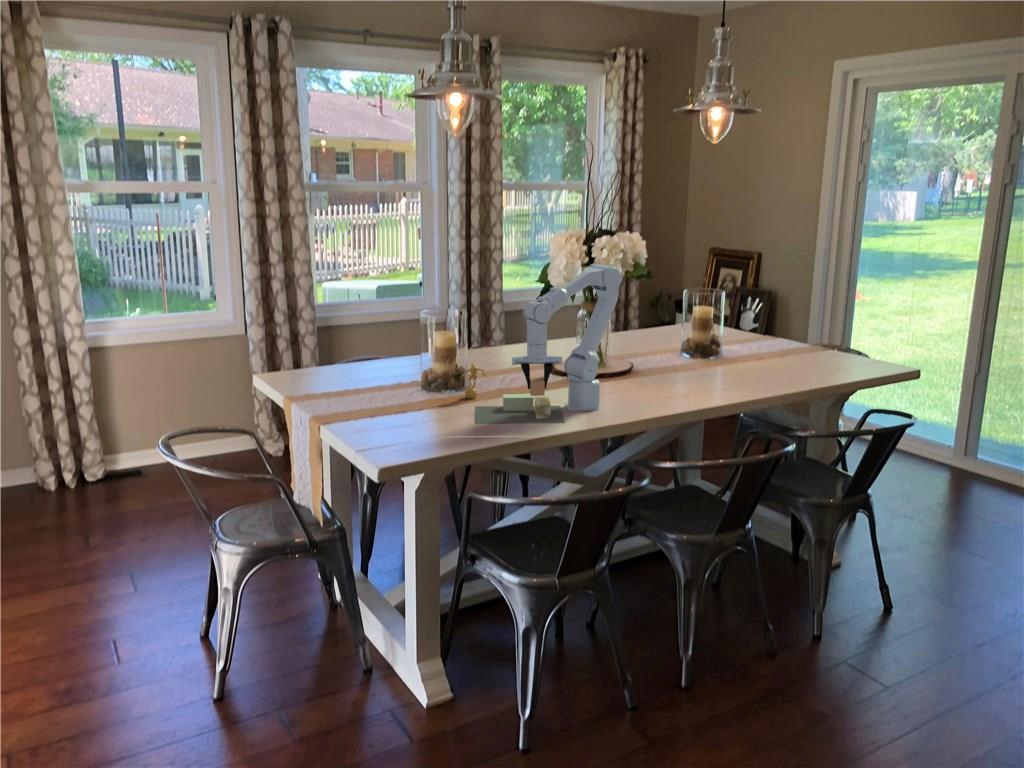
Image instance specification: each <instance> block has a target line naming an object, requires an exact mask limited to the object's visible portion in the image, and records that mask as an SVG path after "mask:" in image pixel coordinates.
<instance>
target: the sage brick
mask: <svg viewBox="0 0 1024 768" xmlns="http://www.w3.org/2000/svg"><path fill="white" fill-rule="evenodd" d="M502 406H503V411H530V410H533V406H534V396H531V394H530V393H528V394H527V393H526V394H525V393H517V394H516V393H514V394H513V393H510V394H509V393H508V394H506V393H504V394H503V393H502Z"/></svg>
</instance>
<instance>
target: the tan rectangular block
mask: <svg viewBox="0 0 1024 768" xmlns="http://www.w3.org/2000/svg"><path fill="white" fill-rule="evenodd" d="M545 390H546V389H545V382H544V374H530V389H529V394H531V396H533V397H534V396H535V397H546V396H545Z"/></svg>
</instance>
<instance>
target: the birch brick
mask: <svg viewBox="0 0 1024 768" xmlns="http://www.w3.org/2000/svg"><path fill="white" fill-rule="evenodd" d="M534 406H535V413H536V418H537V419H549V418H550V410H551V406H552V405H551V401H550V399H549V396H535V397H534Z"/></svg>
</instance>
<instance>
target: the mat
mask: <svg viewBox="0 0 1024 768" xmlns="http://www.w3.org/2000/svg"><path fill="white" fill-rule="evenodd" d="M565 423H566V419H565V417H564V414H563V411H562V407H561V405H551V410H550V418H549V419H537V418H536V413H535V405H533V410H530V411H503V405H500V406H499V405H494V406H493V405H492V406H491V405H490V406H488V405H484V406H482V405H477V406H474V424H475V425H483V424H484V425H485V424H487V425H491V424H492V425H493V424H496V425H498V424H503V425H504V424H565Z"/></svg>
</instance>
